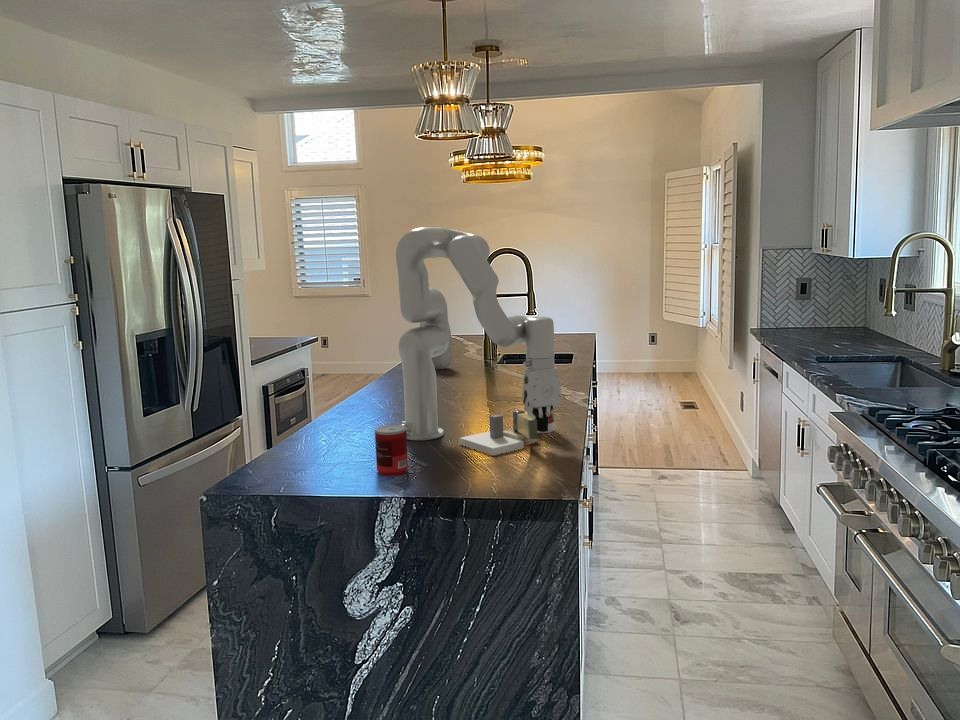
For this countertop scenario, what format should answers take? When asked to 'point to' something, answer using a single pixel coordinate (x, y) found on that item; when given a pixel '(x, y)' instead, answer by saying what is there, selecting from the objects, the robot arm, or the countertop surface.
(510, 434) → the jamb block
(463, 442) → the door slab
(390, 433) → the canned food
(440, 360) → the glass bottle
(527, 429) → the bar
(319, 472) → the countertop surface
